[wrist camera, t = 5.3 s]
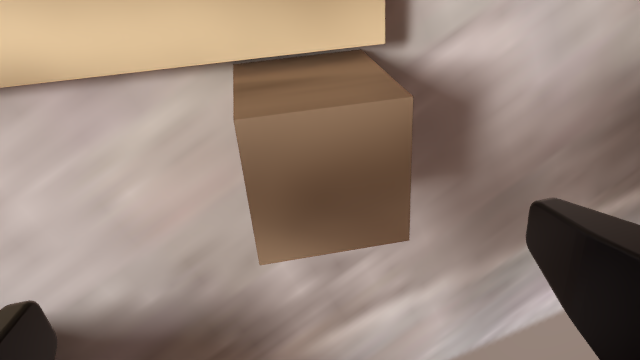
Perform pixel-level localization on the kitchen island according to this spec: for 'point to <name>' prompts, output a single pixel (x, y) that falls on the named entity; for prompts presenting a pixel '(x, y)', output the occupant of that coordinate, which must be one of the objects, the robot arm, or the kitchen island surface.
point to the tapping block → (323, 154)
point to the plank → (170, 34)
